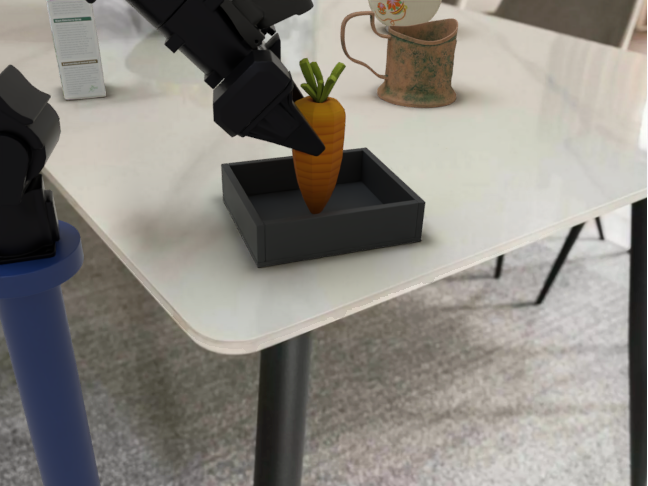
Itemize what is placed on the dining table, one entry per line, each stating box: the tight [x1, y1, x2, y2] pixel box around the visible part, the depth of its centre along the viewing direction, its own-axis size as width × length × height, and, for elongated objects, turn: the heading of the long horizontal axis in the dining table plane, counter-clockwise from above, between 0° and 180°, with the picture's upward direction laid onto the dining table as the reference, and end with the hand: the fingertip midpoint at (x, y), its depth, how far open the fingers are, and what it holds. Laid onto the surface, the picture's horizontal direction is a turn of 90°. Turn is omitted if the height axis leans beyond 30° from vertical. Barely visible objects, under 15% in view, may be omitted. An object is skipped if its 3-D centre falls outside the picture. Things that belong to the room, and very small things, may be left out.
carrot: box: [291, 57, 347, 214], centre depth 61 cm, size 5×5×15 cm
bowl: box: [367, 0, 443, 33], centre depth 133 cm, size 16×16×10 cm
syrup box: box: [45, 0, 107, 101], centre depth 93 cm, size 6×6×14 cm
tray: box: [220, 147, 426, 268], centre depth 64 cm, size 15×13×4 cm
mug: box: [339, 10, 459, 109], centre depth 96 cm, size 12×18×12 cm, turn 104°
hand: (315, 132), depth 61 cm, fingers open, 9 cm apart
